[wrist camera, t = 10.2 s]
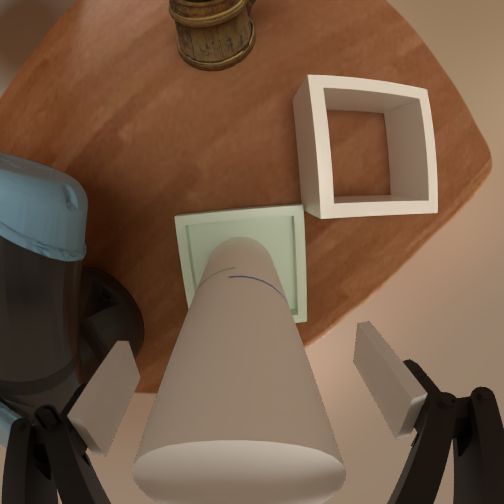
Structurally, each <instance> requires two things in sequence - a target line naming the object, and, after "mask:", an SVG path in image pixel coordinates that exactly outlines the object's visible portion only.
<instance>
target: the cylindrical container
mask: <svg viewBox="0 0 504 504" xmlns="http://www.w3.org/2000/svg"><path fill="white" fill-rule="evenodd" d="M132 474H133V477H134V480H135V482H136V484H137V485H138V486H139V488H140V489H141V490H142V491H143V492H144V493H145V494H146V495H147V496H149V497H150V498H152V499H153V500H155V501H156V502H158V503H160V504H322V503H324V502H326V501H327V500H328V499H330V498H331V497H332V496H334V495H335V494H336V493H337V492H338V490H339V489H340V488H341V487H342V485H343V483H344V481H345V476H346V471H345V468H344V465H343V461H342V458H341V455H340V452H339V449H338V446H337V443H336V440H335V437H334V434H333V431H332V428H331V425H330V422H329V419H328V416H327V413H326V410H325V407H324V404H323V402H322V398H321V396H320V393H319V389H318V387H317V384H316V381H315V378H314V375H313V372H312V369H311V366H310V363H309V361H308V358H307V355H306V352H305V349H304V346H303V344H302V341H301V338H300V335H299V332H298V330H297V327H296V324H295V321H294V318H293V316H292V313H291V310H290V307H289V304H288V302H287V299H286V296H285V293H284V290H283V288H282V285H281V282H280V279H279V277H278V274H277V271H276V269H275V266H274V263H273V260H272V258H271V256H270V253H269V252H268V251H267V249H266V248H265V247H264V246H263V245H262V244H261V243H259V242H258V241H256V240H254V239H251V238H247V237H234V238H230V239H228V240H225V241H223V242H222V243H221V244H219V245H218V246H217V247H216V248H215V249H214V251H213V252H212V254H211V256H210V258H209V260H208V263H207V265H206V268H205V270H204V273H203V275H202V277H201V280H200V282H199V285H198V287H197V290H196V292H195V295H194V297H193V300H192V302H191V305H190V307H189V310H188V313H187V315H186V318H185V320H184V323H183V325H182V328H181V331H180V333H179V336H178V338H177V341H176V344H175V346H174V349H173V352H172V354H171V357H170V360H169V362H168V365H167V368H166V371H165V373H164V376H163V379H162V382H161V384H160V387H159V390H158V393H157V396H156V399H155V401H154V404H153V407H152V410H151V413H150V416H149V419H148V422H147V425H146V428H145V431H144V434H143V437H142V440H141V443H140V446H139V449H138V452H137V455H136V458H135V461H134V465H133V471H132Z"/></svg>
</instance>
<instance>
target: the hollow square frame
mask: <svg viewBox="0 0 504 504" xmlns="http://www.w3.org/2000/svg"><path fill="white" fill-rule="evenodd" d="M292 103H293V112H294V121H295V131H296V142H297V153H298V165H299V178H300V192H301V204H302V205H303V210H304V211H306V212H308V213H310V214H312V215H314V216H316V217H318V218H320V219H327V218H343V217H360V216H378V215H398V214H422V213H438V187H437V165H436V151H435V141H434V132H433V124H432V117H431V110H430V104H429V98H428V93H427V89H422V88H418V87H413V86H408V85H403V84H397V83H391V82H385V81H378V80H370V79H362V78H352V77H341V76H326V75H307V76H306V78H305V80H304V81H303V83H302V84H301V86H300V88H299V89H298V91H297V93H296V94H295V96H294V97H293V99H292ZM326 110H346V111H362V112H374V113H384V119H385V127H386V135H387V145H388V157H389V171H390V193H391V195H366V196H339V197H334V195H333V178H332V164H331V152H330V141H329V131H328V122H327V113H326Z"/></svg>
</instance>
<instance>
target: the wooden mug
mask: <svg viewBox="0 0 504 504" xmlns="http://www.w3.org/2000/svg"><path fill="white" fill-rule="evenodd" d="M255 1H256V0H169V13H170V14H171V16H172V18H173V19H174V20H175V24H176V29H177V46H178V50H179V53H180V56H181V57H182V58H183V60H184V61H185V62H187V63H188V64H189V65H191V66H193V67H195V68H198V69H200V70H208V71H217V70H223V69H226V68H229V67H232V66H233V65H235V64H237V63H239V62H240V61H241V60H243V59H244V58H245V57H246V56H247V55H248V54H249V52H250V51H251V50H252V48H253V46H254V43H255V30H254V25H253V22H252V19H251V18H250V17H249V16H250V11H251V7H252V6H253V4H254V2H255Z"/></svg>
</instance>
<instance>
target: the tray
mask: <svg viewBox="0 0 504 504" xmlns="http://www.w3.org/2000/svg"><path fill="white" fill-rule="evenodd" d="M175 225H176V233H177V241H178V248H179V255H180V261H181V268H182V274H183V280H184V286H185V292H186V298H187V304H188V309H189V307H190V305H191V302H192V300H193V297H194V295H195V292H196V290H197V287H198V285H199V282H200V280H201V277H202V275H203V273H204V270H205V268H206V265H207V263H208V260H209V258H210V256H211V254H212V252H213V251H214V249H215V248H216V247H217V246H218V245H219V244H221V243H222V242H223V241H225V240H228V239H230V238H234V237H247V238H251V239H254V240H256V241H258V242H259V243H261V244H262V245H263V246H264V247H265V248H266V249H267V251H268V252H269V253H270V256H271V258H272V260H273V263H274V266H275V269H276V271H277V274H278V277H279V279H280V282H281V285H282V288H283V290H284V293H285V296H286V299H287V302H288V304H289V307H290V310H291V313H292V316H293V318H294V321H295V323H299V322H307V289H306V253H305V229H304V210H303V205H302V204H299V203H294V204H280V205H266V206H254V207H243V208H232V209H221V210H211V211H201V212H192V213H183V214H179V215H177V216H175Z"/></svg>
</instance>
